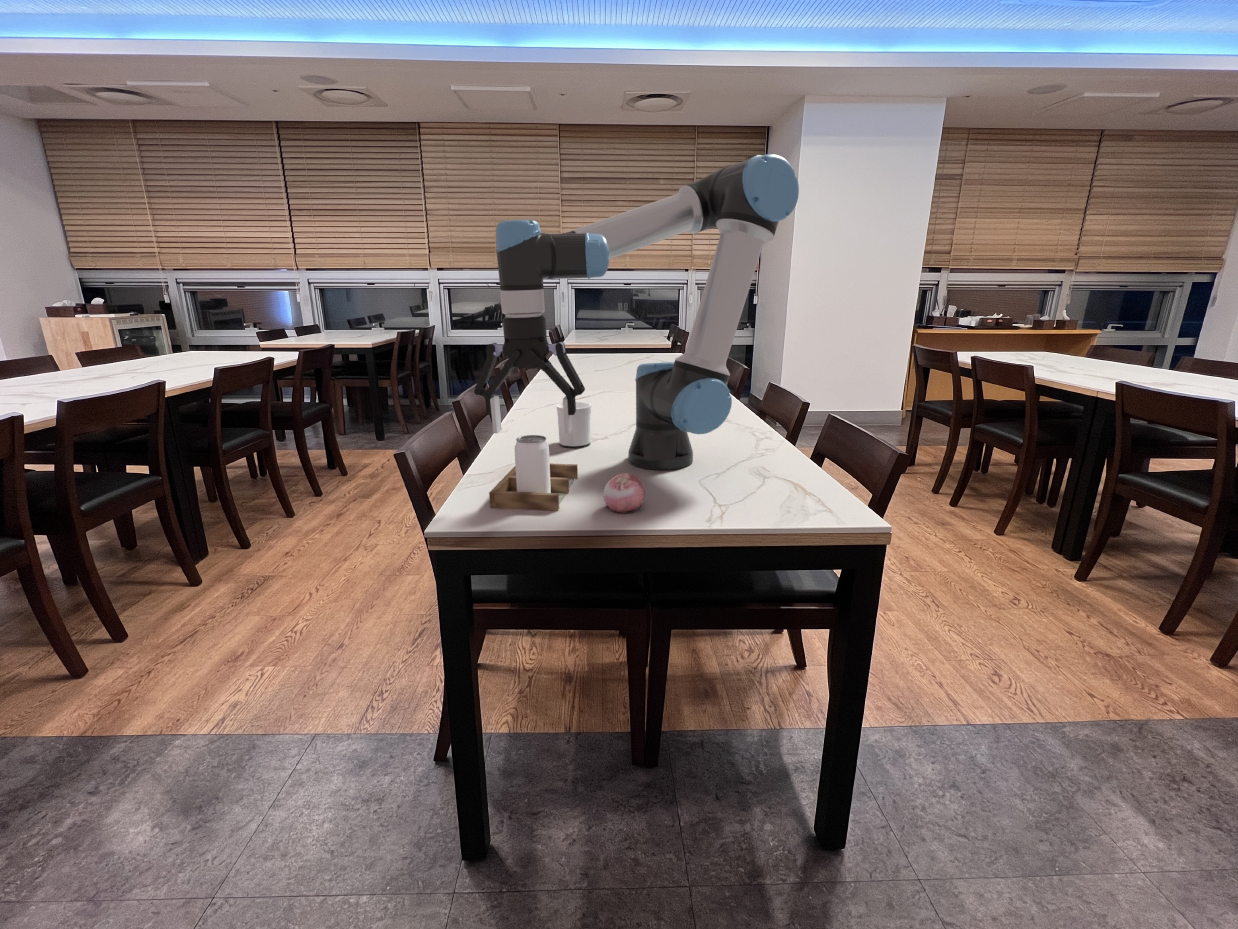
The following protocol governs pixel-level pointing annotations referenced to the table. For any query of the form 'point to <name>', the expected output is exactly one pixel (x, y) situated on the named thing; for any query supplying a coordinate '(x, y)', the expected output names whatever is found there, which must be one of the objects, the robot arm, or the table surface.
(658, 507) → the table surface
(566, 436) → the mug
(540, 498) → the comb rack
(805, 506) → the table surface
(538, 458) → the can
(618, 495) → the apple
